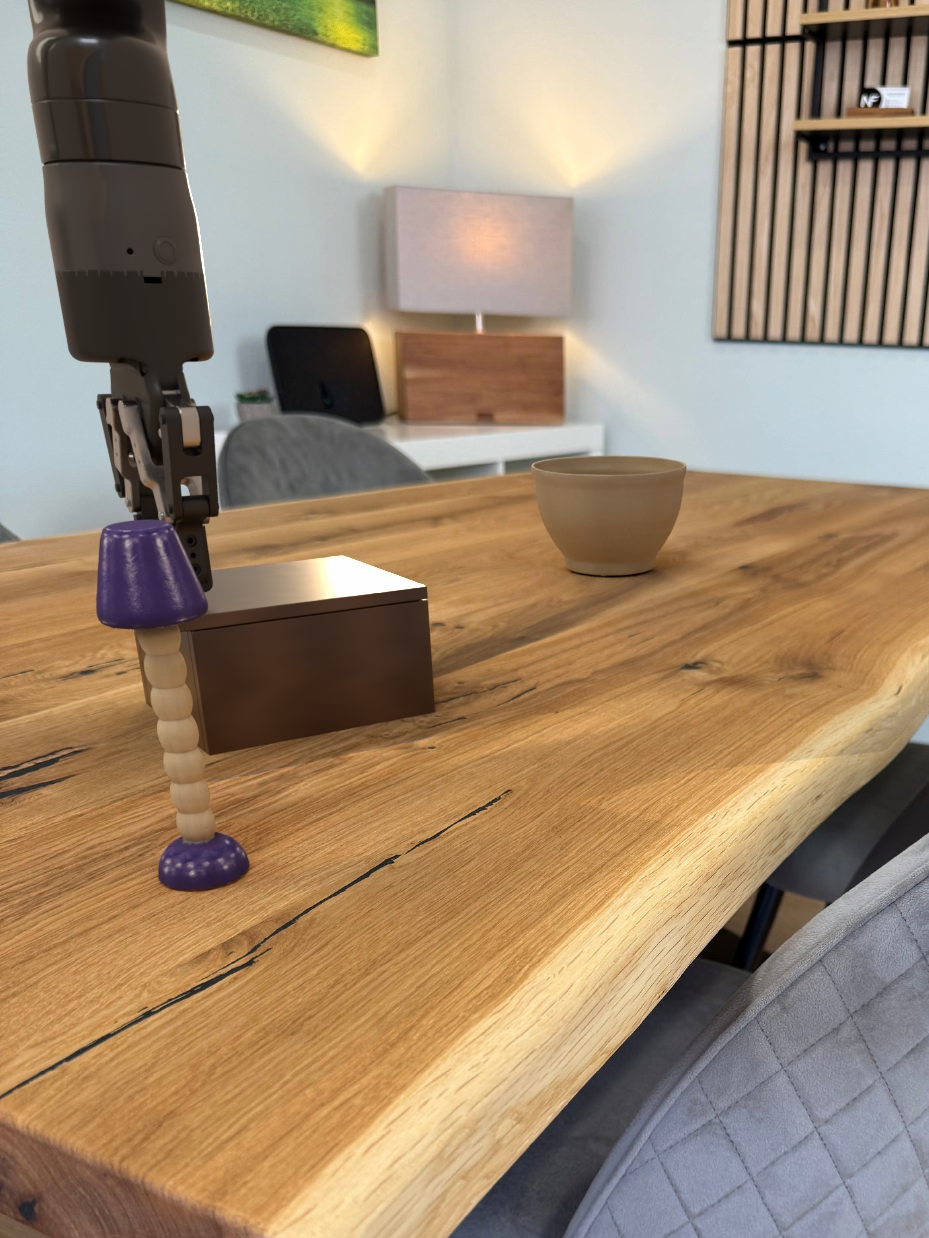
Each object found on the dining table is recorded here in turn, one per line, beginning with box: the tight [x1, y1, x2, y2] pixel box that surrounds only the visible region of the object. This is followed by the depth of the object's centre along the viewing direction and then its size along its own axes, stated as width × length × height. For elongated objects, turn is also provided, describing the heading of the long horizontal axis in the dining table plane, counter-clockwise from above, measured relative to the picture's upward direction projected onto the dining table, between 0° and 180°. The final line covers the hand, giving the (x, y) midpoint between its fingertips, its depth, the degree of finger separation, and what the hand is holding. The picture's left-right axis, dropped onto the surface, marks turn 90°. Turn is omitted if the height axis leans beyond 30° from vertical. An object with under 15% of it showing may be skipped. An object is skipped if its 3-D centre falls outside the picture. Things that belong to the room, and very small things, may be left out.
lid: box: [148, 516, 429, 632], centre depth 74 cm, size 15×13×5 cm
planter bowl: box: [531, 454, 687, 577], centre depth 128 cm, size 16×16×11 cm
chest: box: [133, 599, 436, 756], centre depth 77 cm, size 15×13×9 cm
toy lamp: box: [95, 519, 250, 892], centre depth 55 cm, size 5×5×17 cm
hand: (177, 582), depth 72 cm, fingers closed on lid, 5 cm apart
